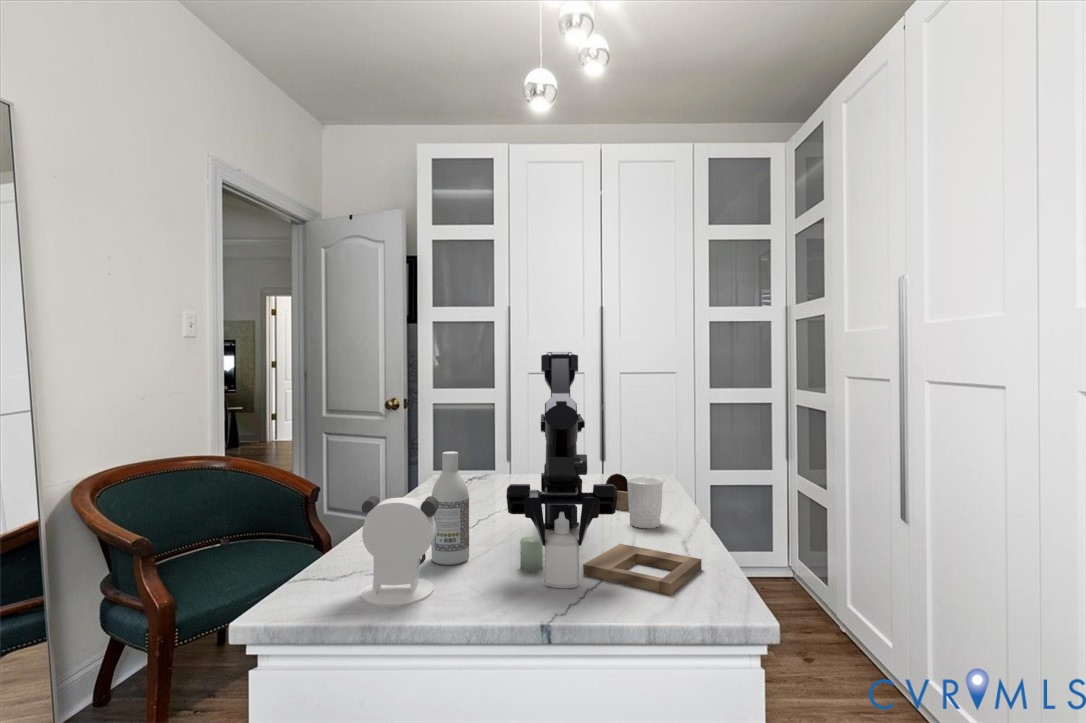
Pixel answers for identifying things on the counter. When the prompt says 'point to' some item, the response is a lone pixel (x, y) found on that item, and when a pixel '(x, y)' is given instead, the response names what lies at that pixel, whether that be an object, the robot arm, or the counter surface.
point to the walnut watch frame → (622, 501)
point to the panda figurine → (398, 549)
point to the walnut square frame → (625, 556)
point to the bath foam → (451, 514)
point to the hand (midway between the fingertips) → (562, 544)
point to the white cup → (645, 501)
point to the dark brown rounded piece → (618, 482)
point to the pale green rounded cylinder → (531, 554)
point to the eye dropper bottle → (562, 556)
